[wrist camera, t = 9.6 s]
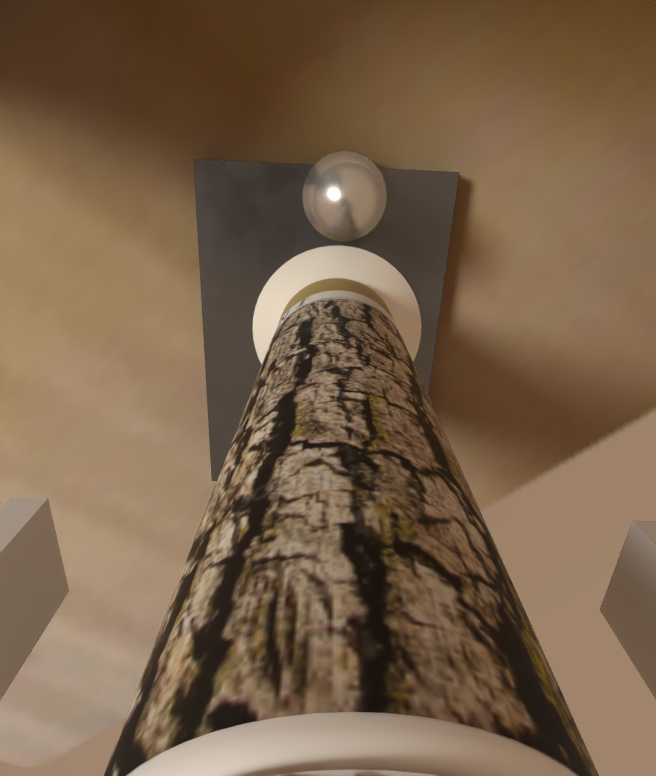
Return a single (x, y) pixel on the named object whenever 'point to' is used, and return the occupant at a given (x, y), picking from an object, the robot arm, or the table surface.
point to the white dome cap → (337, 265)
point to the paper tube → (345, 588)
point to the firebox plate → (283, 242)
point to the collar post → (344, 196)
